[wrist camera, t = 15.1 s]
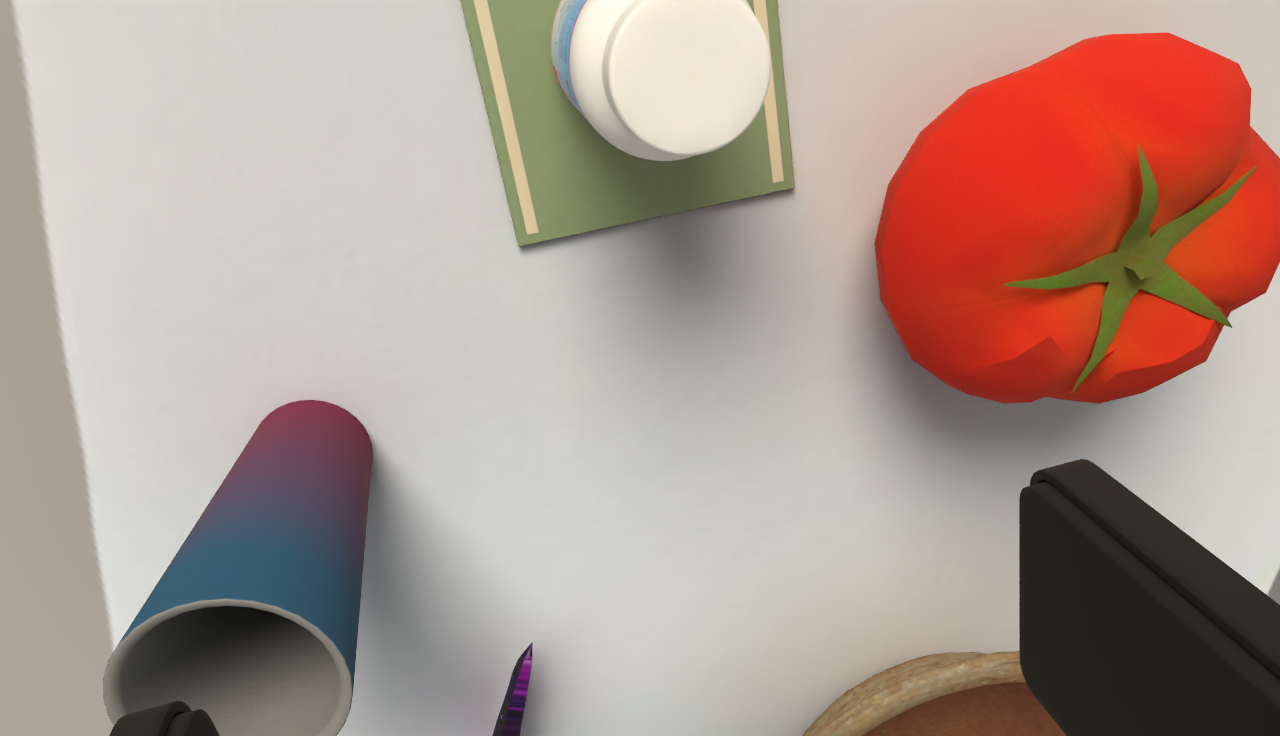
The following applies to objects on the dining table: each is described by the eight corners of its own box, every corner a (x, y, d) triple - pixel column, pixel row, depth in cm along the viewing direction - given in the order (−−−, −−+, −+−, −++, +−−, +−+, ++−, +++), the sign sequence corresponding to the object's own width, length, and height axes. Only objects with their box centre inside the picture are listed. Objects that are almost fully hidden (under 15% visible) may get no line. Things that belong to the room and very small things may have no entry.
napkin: (430, -132, 32) (429, -133, 32) (756, -189, 33) (758, -190, 33) (518, 244, 38) (518, 246, 37) (792, 186, 39) (795, 188, 38)
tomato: (800, 127, 38) (901, 174, 29) (1158, -26, 38) (1371, -27, 29) (882, 405, 44) (987, 515, 35) (1190, 273, 44) (1374, 349, 35)
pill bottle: (529, 98, 35) (553, 148, 25) (575, -66, 33) (621, -84, 23) (673, 144, 37) (749, 208, 27) (724, -9, 35) (828, -3, 25)
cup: (227, 376, 38) (89, 600, 24) (394, 384, 39) (353, 598, 26) (234, 515, 40) (113, 787, 27) (391, 517, 42) (352, 777, 28)
